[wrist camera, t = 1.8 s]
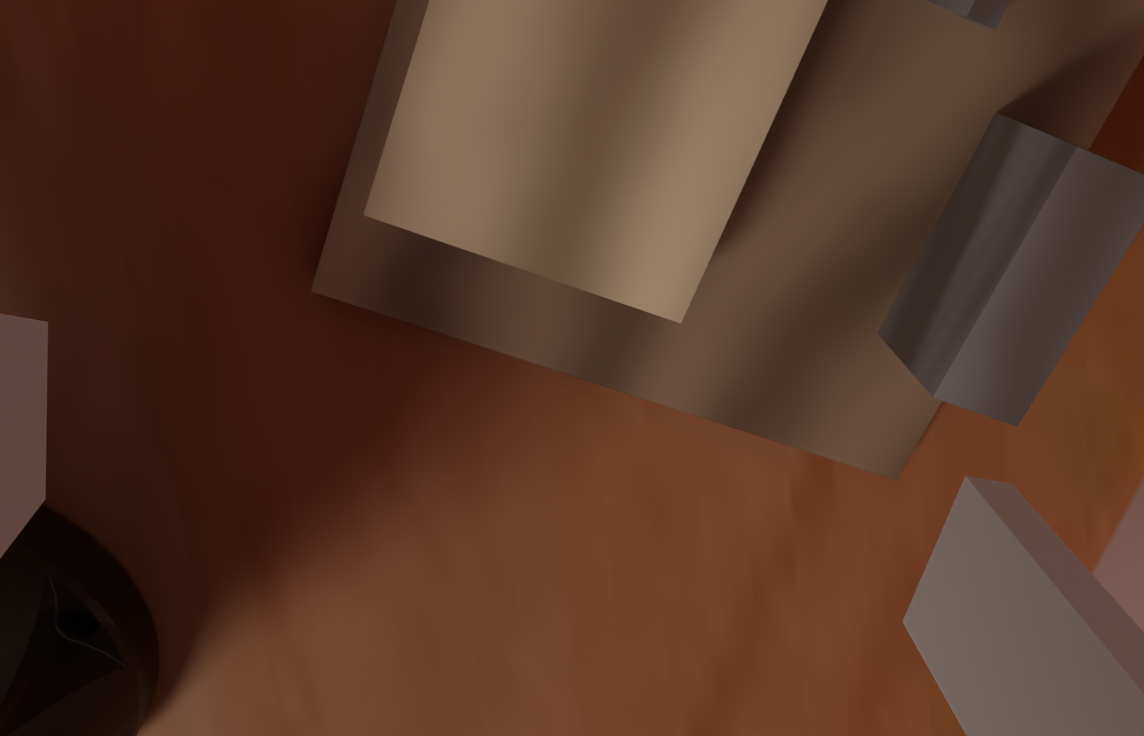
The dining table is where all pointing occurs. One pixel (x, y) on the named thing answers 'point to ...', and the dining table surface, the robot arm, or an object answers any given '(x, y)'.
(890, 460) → the board
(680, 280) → the thin beige square tile
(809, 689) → the dining table surface
